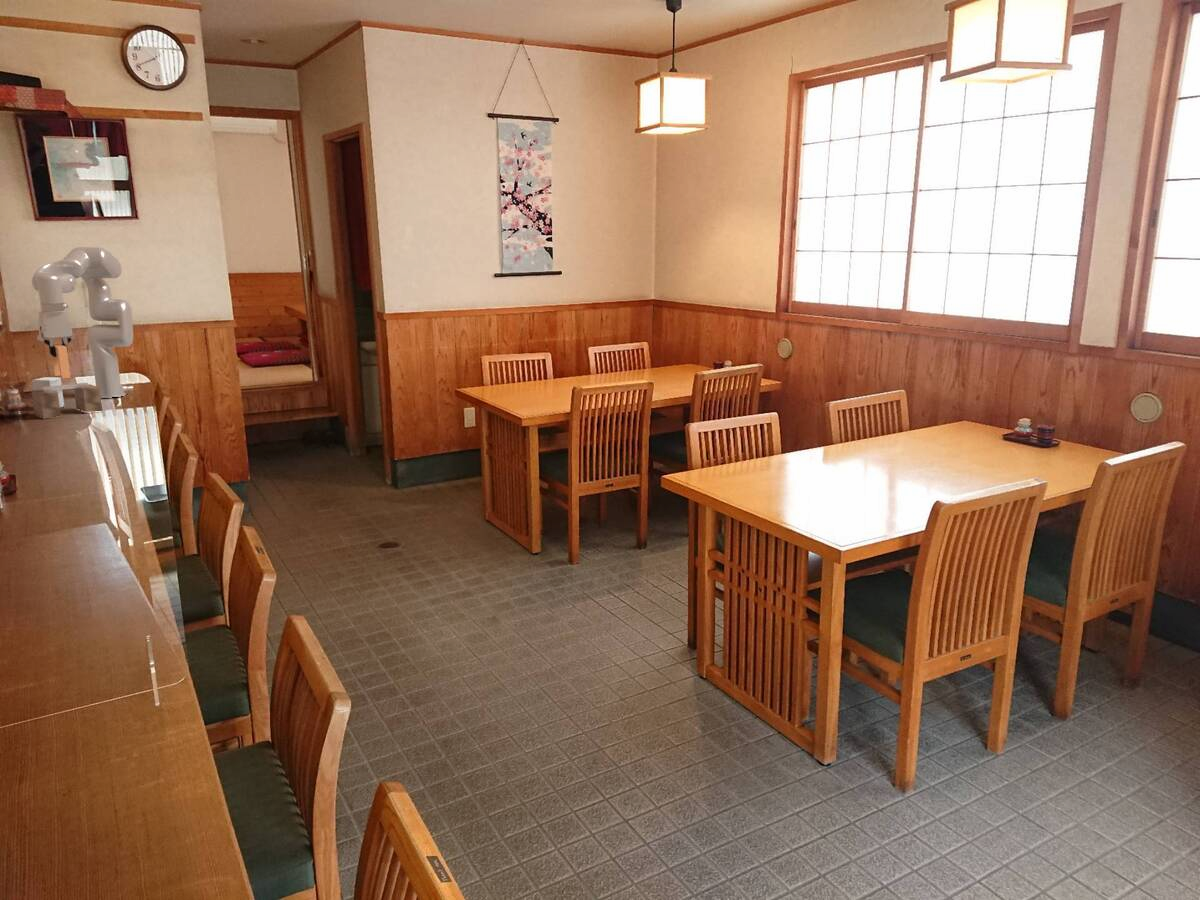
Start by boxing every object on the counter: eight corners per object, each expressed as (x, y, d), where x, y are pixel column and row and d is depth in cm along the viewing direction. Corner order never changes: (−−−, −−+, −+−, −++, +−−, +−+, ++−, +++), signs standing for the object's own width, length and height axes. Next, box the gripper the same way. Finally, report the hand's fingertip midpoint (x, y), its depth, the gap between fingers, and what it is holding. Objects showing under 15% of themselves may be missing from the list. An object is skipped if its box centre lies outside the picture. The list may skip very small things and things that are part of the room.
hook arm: (86, 386, 338) (86, 382, 338) (88, 386, 337) (88, 383, 337) (42, 390, 326) (41, 387, 326) (43, 391, 325) (43, 387, 325)
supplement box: (53, 411, 338) (49, 380, 335) (35, 410, 338) (31, 379, 335) (65, 407, 345) (61, 377, 342) (47, 406, 345) (43, 376, 342)
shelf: (92, 408, 345) (89, 384, 343) (102, 411, 339) (99, 387, 337) (34, 415, 330) (31, 390, 327) (43, 419, 323) (40, 393, 321)
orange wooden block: (62, 374, 327) (58, 344, 324) (70, 377, 322) (66, 346, 319) (53, 375, 325) (49, 344, 322) (62, 378, 320) (57, 347, 317)
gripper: (72, 305, 325) (78, 352, 330) (24, 308, 313) (31, 356, 317) (80, 307, 320) (86, 355, 325) (31, 310, 308) (38, 359, 313)
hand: (59, 355), depth 321 cm, fingers closed on orange wooden block, 3 cm apart
